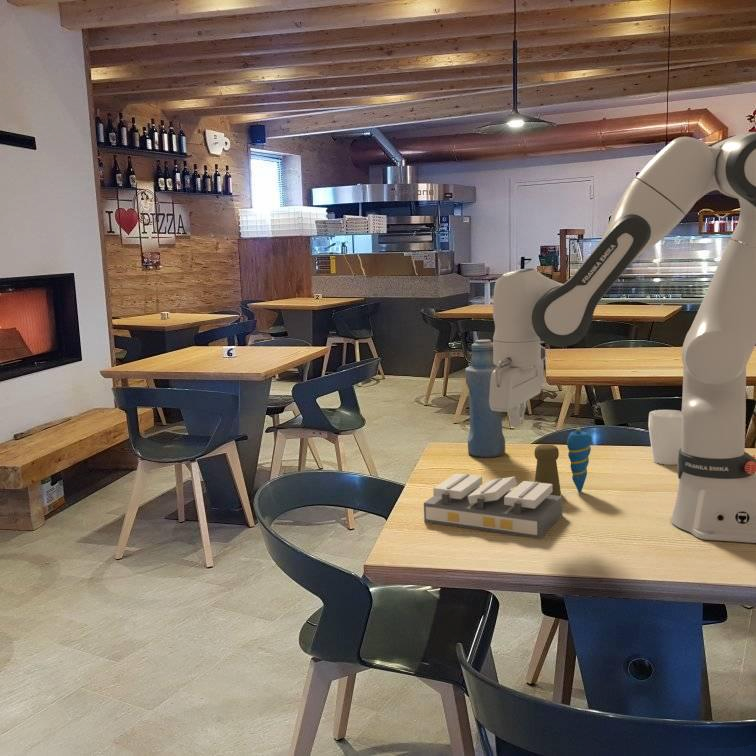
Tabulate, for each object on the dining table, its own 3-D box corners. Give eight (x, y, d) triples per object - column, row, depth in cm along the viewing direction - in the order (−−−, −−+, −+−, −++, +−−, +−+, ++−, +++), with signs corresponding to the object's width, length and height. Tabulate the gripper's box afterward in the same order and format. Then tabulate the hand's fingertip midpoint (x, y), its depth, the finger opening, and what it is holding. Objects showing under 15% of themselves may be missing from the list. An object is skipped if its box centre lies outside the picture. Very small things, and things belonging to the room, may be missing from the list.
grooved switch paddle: (482, 483, 167) (482, 474, 166) (460, 499, 157) (460, 490, 157) (456, 480, 170) (456, 471, 169) (433, 496, 160) (432, 486, 160)
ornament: (595, 491, 175) (595, 424, 172) (584, 497, 171) (584, 428, 169) (574, 486, 178) (574, 421, 176) (562, 492, 175) (562, 426, 172)
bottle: (507, 457, 205) (505, 341, 200) (469, 459, 205) (466, 343, 200) (502, 448, 214) (500, 337, 209) (465, 449, 214) (462, 338, 210)
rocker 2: (552, 491, 159) (552, 482, 159) (534, 508, 150) (534, 499, 149) (523, 488, 162) (523, 479, 162) (503, 505, 153) (503, 495, 152)
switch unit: (562, 515, 161) (562, 485, 160) (539, 539, 148) (539, 507, 147) (453, 501, 172) (452, 473, 171) (423, 522, 160) (422, 492, 159)
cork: (541, 488, 178) (540, 440, 177) (566, 492, 175) (565, 443, 173) (527, 495, 174) (527, 446, 172) (553, 500, 170) (552, 450, 168)
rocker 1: (517, 483, 163) (514, 474, 163) (496, 500, 153) (494, 490, 153) (490, 487, 166) (488, 479, 166) (469, 504, 156) (466, 494, 156)
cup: (690, 458, 196) (691, 411, 194) (682, 468, 189) (683, 418, 187) (653, 455, 201) (653, 408, 199) (643, 464, 194) (644, 415, 192)
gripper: (513, 363, 142) (513, 439, 144) (548, 348, 159) (548, 415, 162) (480, 361, 145) (481, 435, 147) (518, 347, 162) (518, 413, 165)
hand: (516, 425), depth 155 cm, fingers closed
